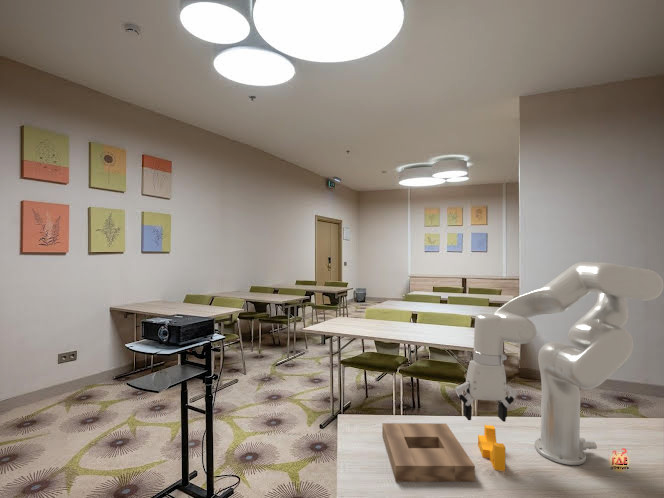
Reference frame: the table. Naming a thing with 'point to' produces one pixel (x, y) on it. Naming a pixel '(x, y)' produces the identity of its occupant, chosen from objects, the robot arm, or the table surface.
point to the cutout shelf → (426, 453)
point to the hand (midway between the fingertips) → (484, 418)
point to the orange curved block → (492, 448)
